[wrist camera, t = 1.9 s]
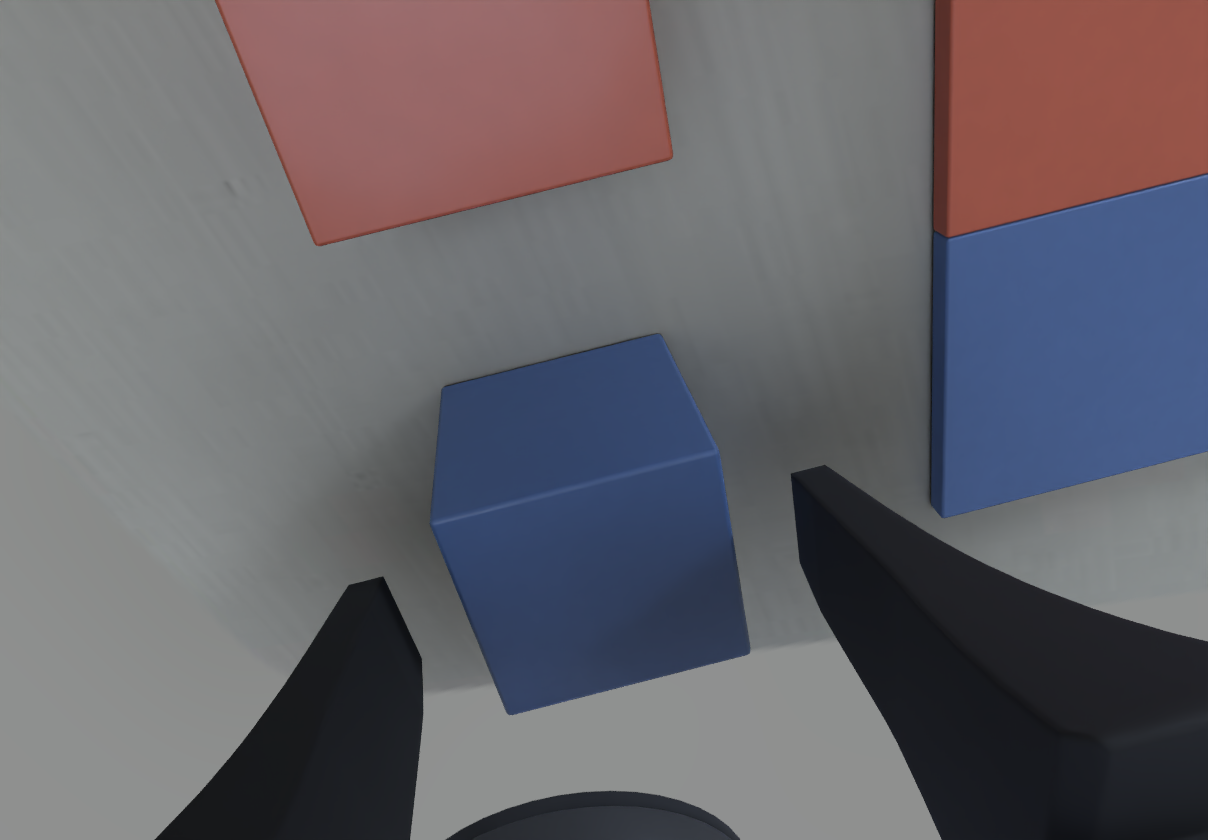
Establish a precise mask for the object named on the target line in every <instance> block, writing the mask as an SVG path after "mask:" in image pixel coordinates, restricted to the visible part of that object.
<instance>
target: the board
mask: <svg viewBox="0 0 1208 840" xmlns="http://www.w3.org/2000/svg"><path fill="white" fill-rule="evenodd" d="M934 230H935V232H934V242H933V356H932V470H931V505H932V507H933V508H934V509H935V510H936V511H937V513H938V514H939V515H940V516H941V517H942V518H947V517H951V516H955V515H959V514H963V513H967V512H971V511H975V510H979V509H983V508H987V507H991V506H995V505H999V504H1002V503H1006V502H1010V501H1014V500H1018V499H1022V498H1026V497H1030V496H1034V495H1038V494H1042V493H1046V492H1050V491H1054V490H1058V489H1061V488H1065V487H1069V486H1073V485H1077V484H1081V483H1085V482H1089V481H1093V480H1097V479H1101V478H1105V477H1109V476H1113V475H1116V474H1120V473H1124V472H1128V471H1132V470H1136V469H1140V468H1144V467H1148V466H1152V465H1156V464H1160V463H1164V462H1168V461H1172V460H1175V459H1179V458H1183V457H1187V456H1191V455H1195V454H1199V453H1203V452H1207V451H1208V0H935V114H934Z"/></svg>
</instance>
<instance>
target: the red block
mask: <svg viewBox="0 0 1208 840" xmlns="http://www.w3.org/2000/svg"><path fill="white" fill-rule="evenodd" d="M215 2H216V4H217V7H218V9H219V12H220V14H221V16H222V19H223V21H224V24H225V26H226V29H227V31H228V34H229V36H230V39H231V41H232V43H233V46H234V48H235V51H236V53H237V56H238V58H239V61H240V63H241V65H242V68H243V70H244V73H245V75H246V78H247V80H248V83H249V85H250V87H251V90H252V92H253V95H254V97H255V100H256V102H257V105H258V107H259V110H260V112H261V114H262V117H263V119H264V122H265V124H266V127H267V129H268V132H269V134H270V136H271V139H272V141H273V144H274V146H275V149H276V151H277V154H278V156H279V158H280V161H281V163H282V166H283V168H284V171H285V173H286V176H287V178H288V181H289V183H290V185H291V188H292V190H293V193H294V195H295V198H296V200H297V203H298V205H299V207H300V210H301V212H302V215H303V217H304V220H305V222H306V225H307V227H308V229H309V232H310V234H311V237H312V239H313V242H314V243H315V245H316V246H323V245H327V244H331V243H335V242H339V241H343V240H347V239H352V238H356V237H360V236H364V235H368V234H372V233H376V232H380V231H384V230H388V229H392V228H396V227H400V226H404V225H408V224H412V223H416V222H421V221H425V220H429V219H433V218H437V217H441V216H445V215H449V214H453V213H457V212H461V211H465V210H469V209H473V208H477V207H481V206H485V205H490V204H494V203H498V202H502V201H506V200H510V199H514V198H518V197H522V196H526V195H530V194H534V193H538V192H542V191H546V190H550V189H554V188H559V187H563V186H567V185H571V184H575V183H579V182H583V181H587V180H591V179H595V178H599V177H603V176H607V175H611V174H615V173H619V172H623V171H628V170H632V169H636V168H640V167H644V166H648V165H652V164H656V163H660V162H664V161H668V160H670V159H672V157H673V150H672V144H671V138H670V131H669V125H668V118H667V112H666V106H665V99H664V93H663V87H662V80H661V74H660V68H659V61H658V55H657V48H656V42H655V36H654V29H653V23H652V17H651V10H650V4H649V0H215Z"/></svg>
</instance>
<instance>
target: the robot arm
mask: <svg viewBox="0 0 1208 840" xmlns="http://www.w3.org/2000/svg"><path fill="white" fill-rule="evenodd" d="M791 481H792V491H793V501H794V510H795V520H796V530H797V540H798V550H799V559H800V564H801V566H802V569H803V571H804V574H805V576H806V578H807V581H808V583H809V585H810V588H811V590H812V592H813V595H814V597H815V599H816V601H817V604H818V606H819V608H820V610H821V612H822V614H823V616H824V618H825V619H826V621H827V623H828V625H829V626H830V628H831V630H832V631H833V633H834V635H835V637H836V638H837V640H838V642H839V643H840V645H841V647H842V648H843V650H844V652H845V653H846V655H847V657H848V659H849V660H850V662H851V663H852V665H853V667H854V669H855V670H856V672H857V673H858V675H859V677H860V679H861V680H862V682H863V684H864V685H865V687H866V689H867V690H868V692H869V694H870V695H871V697H872V699H873V700H874V702H875V704H876V706H877V707H878V709H879V711H880V712H881V714H882V716H883V717H884V719H885V721H886V722H887V725H888V726H889V728H890V730H891V732H892V734H893V736H894V738H895V739H896V741H897V743H898V745H899V747H900V749H901V752H902V754H903V756H904V758H905V760H906V762H907V764H908V767H909V769H910V771H911V773H912V775H913V777H914V779H915V782H916V784H917V786H918V788H919V790H920V792H921V794H922V796H923V799H924V801H925V803H926V805H927V808H928V810H929V812H930V814H931V816H932V819H933V821H934V823H935V826H936V828H937V830H938V832H939V834H940V837H941V839H942V840H1208V642H1207V641H1203V640H1199V639H1195V638H1191V637H1186V636H1182V635H1178V634H1174V633H1170V632H1166V631H1163V630H1160V629H1156V628H1153V627H1150V626H1147V625H1143V624H1140V623H1136V622H1133V621H1129V620H1126V619H1123V618H1120V617H1117V616H1114V615H1111V614H1108V613H1105V612H1102V611H1099V610H1096V609H1093V608H1090V607H1087V606H1084V605H1082V604H1079V603H1076V602H1074V601H1071V600H1068V599H1066V598H1063V597H1060V596H1058V595H1055V594H1052V593H1050V592H1047V591H1045V590H1042V589H1040V588H1037V587H1035V586H1032V585H1030V584H1028V583H1025V582H1023V581H1021V580H1019V579H1016V578H1014V577H1012V576H1010V575H1008V574H1005V573H1003V572H1001V571H999V570H997V569H995V568H992V567H990V566H988V565H986V564H984V563H982V562H980V561H978V560H976V559H974V558H972V557H970V556H968V555H966V554H964V553H962V552H961V551H959V550H957V549H955V548H953V547H952V546H950V545H948V544H946V543H944V542H942V541H941V540H939V539H937V538H935V537H934V536H932V535H930V534H929V533H927V532H925V531H924V530H922V529H921V528H919V527H917V526H916V525H914V524H913V523H911V522H909V521H908V520H906V519H905V518H903V517H901V516H900V515H898V514H897V513H895V512H893V511H892V510H890V509H889V508H887V507H886V506H884V505H883V504H881V503H880V502H878V501H877V500H875V499H874V498H873V497H871V496H870V495H868V494H867V493H865V492H864V491H862V490H861V489H859V488H858V487H857V486H855V485H854V484H852V483H851V482H849V481H848V480H847V479H845V478H844V477H842V476H841V475H839V474H838V473H837V472H835V471H834V470H832V469H831V468H829V467H827V466H826V465H823V466H819V467H815V468H811V469H807V470H803V471H799V472H795V473H791ZM422 721H423V677H422V658H421V656H420V654H419V651H418V649H417V647H416V645H415V643H414V641H413V639H412V636H411V634H410V632H409V630H408V628H407V626H406V624H405V622H404V619H403V617H402V615H401V613H400V611H399V609H398V607H397V604H396V602H395V600H394V598H393V596H392V594H391V592H390V590H389V587H388V585H387V583H386V581H385V579H384V577H379V578H375V579H371V580H367V581H363V582H359V583H355V584H351V585H349V586H348V587H347V589H346V590H345V592H344V593H343V595H342V596H341V598H340V599H339V601H338V602H337V604H336V606H335V607H334V609H333V610H332V612H331V613H330V615H329V617H328V618H327V620H326V621H325V623H324V625H323V626H322V628H321V629H320V631H319V632H318V634H317V636H316V637H315V639H314V640H313V642H312V644H311V645H310V647H309V648H308V650H307V651H306V653H305V654H304V656H303V657H302V659H301V660H300V662H299V664H298V665H297V667H296V668H295V670H294V671H293V673H292V674H291V676H290V677H289V679H288V680H287V682H286V683H285V685H284V686H283V688H282V689H281V690H280V692H279V693H278V694H277V696H276V697H275V699H274V700H273V701H272V703H271V704H270V705H269V707H268V708H267V710H266V711H265V712H264V714H263V715H262V717H261V718H260V719H259V721H258V722H257V723H256V725H255V726H254V728H253V729H252V730H251V732H250V733H249V734H248V736H247V737H246V738H245V739H244V741H243V742H242V743H241V744H240V746H239V747H238V748H237V749H236V751H235V752H234V753H233V755H232V756H231V757H230V758H229V759H228V760H227V762H226V763H225V764H224V765H223V766H222V767H221V769H220V770H219V771H218V772H217V773H216V775H215V776H214V777H213V778H212V779H211V781H210V782H209V783H208V784H207V785H206V786H205V787H204V788H203V790H202V791H201V792H200V793H199V794H198V795H197V796H196V797H195V798H194V799H193V800H192V801H191V803H190V804H189V805H188V806H187V807H186V808H185V809H184V810H183V811H182V812H181V813H180V814H179V815H178V816H177V817H176V818H175V819H174V820H173V821H172V822H171V823H170V824H169V825H168V826H167V827H166V828H165V830H164V831H163V832H162V833H161V834H160V835H159V836H158V837H157V838H156V839H155V840H410V834H411V825H412V816H413V807H414V798H415V787H416V780H417V771H418V761H419V752H420V742H421V732H422Z"/></svg>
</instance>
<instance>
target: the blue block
mask: <svg viewBox="0 0 1208 840" xmlns="http://www.w3.org/2000/svg"><path fill="white" fill-rule="evenodd" d="M430 526H431V529H432V531H433V534H434V536H435V539H436V541H437V544H438V546H439V548H440V551H441V553H442V556H443V558H444V561H445V563H446V566H447V568H448V571H449V573H450V575H451V578H452V580H453V583H454V585H455V588H456V590H457V593H458V595H459V597H460V600H461V602H462V605H463V607H464V610H465V612H466V615H467V617H468V620H469V622H470V624H471V627H472V629H473V632H474V634H475V637H476V639H477V642H478V644H479V647H480V649H481V651H482V654H483V656H484V659H485V661H486V664H487V666H488V669H489V671H490V673H491V676H492V678H493V681H494V683H495V686H496V688H497V691H498V693H499V695H500V698H501V700H502V703H503V705H504V707H505V710H506V712H507V714H509V715H514V714H518V713H522V712H526V711H530V710H534V709H538V708H542V707H546V706H550V705H553V704H557V703H561V702H565V701H568V700H573V699H577V698H581V697H585V696H589V695H592V694H596V693H600V692H604V691H608V690H612V689H616V688H620V687H624V686H628V685H632V684H635V683H639V682H643V681H647V680H651V679H655V678H659V677H663V676H667V675H671V674H674V673H678V672H682V671H686V670H690V669H694V668H698V667H701V666H706V665H709V664H714V663H718V662H721V661H725V660H729V659H733V658H737V657H741V656H745V655H748V654H749V653H750V642H749V636H748V630H747V623H746V617H745V611H744V604H743V598H742V592H741V585H740V579H739V573H738V566H737V560H736V554H735V547H734V541H733V534H732V528H731V522H730V515H729V509H728V503H727V496H726V490H725V484H724V477H723V471H722V465H721V458H720V452H719V449H718V447H717V445H716V443H715V441H714V439H713V437H712V435H711V433H710V431H709V429H708V427H707V425H706V423H705V421H704V419H703V417H702V415H701V413H700V411H699V409H698V407H697V405H696V403H695V401H694V399H693V397H692V395H691V393H690V391H689V389H688V387H687V385H686V383H685V381H684V379H683V377H682V375H681V373H680V371H679V369H678V367H677V365H676V363H675V361H674V359H673V357H672V355H671V353H670V351H669V349H668V347H667V345H666V343H665V341H664V339H663V337H662V336H661V334H655V335H651V336H647V337H643V338H639V339H635V340H631V341H627V342H623V343H619V344H615V345H611V346H607V347H603V348H599V349H595V350H591V351H587V352H583V353H579V354H575V355H571V356H567V357H563V358H559V359H555V360H551V361H547V362H543V363H539V364H535V365H531V366H527V367H523V368H519V369H515V370H511V371H506V372H502V373H498V374H494V375H490V376H486V377H482V378H478V379H474V380H470V381H466V382H462V383H458V384H454V385H450V386H446V387H444V388H442V392H441V403H440V414H439V425H438V436H437V447H436V458H435V469H434V480H433V492H432V503H431V514H430Z"/></svg>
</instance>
